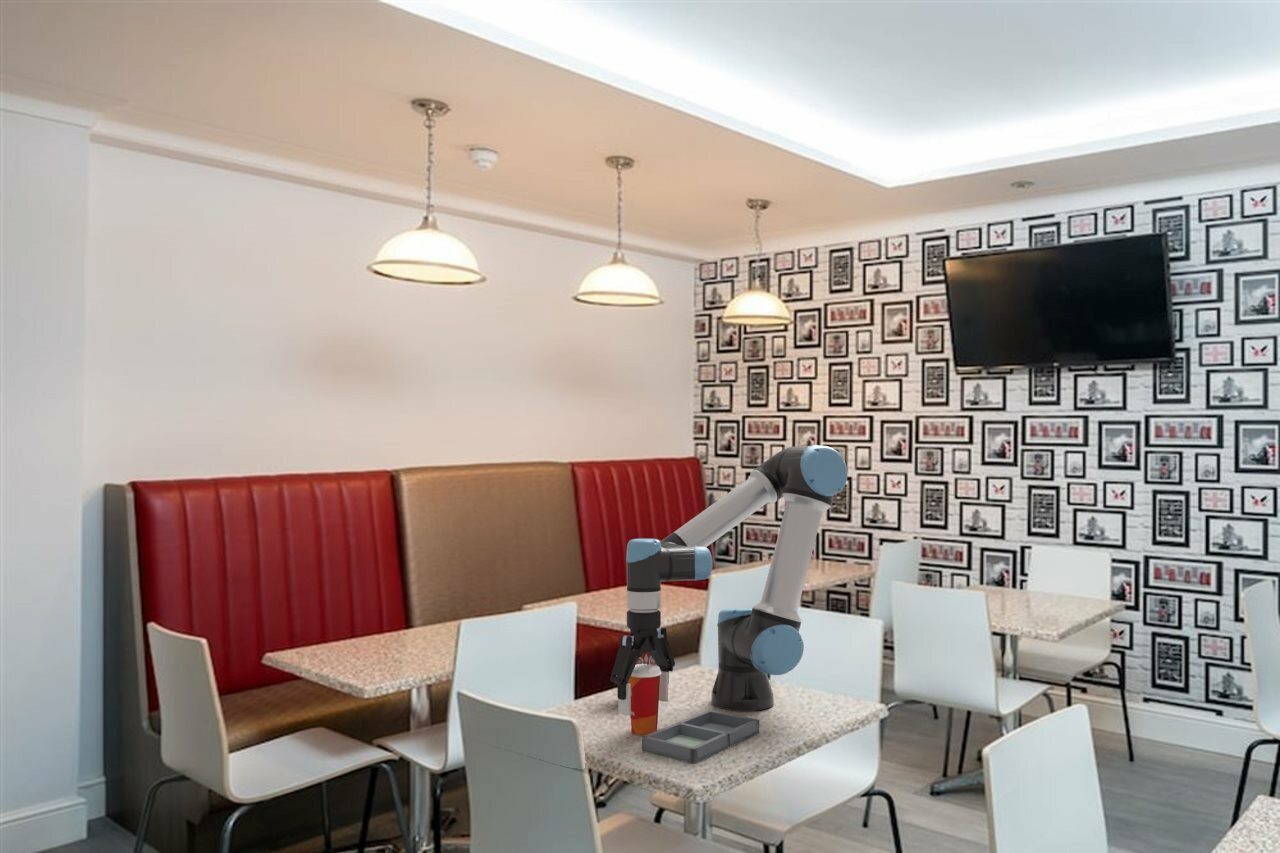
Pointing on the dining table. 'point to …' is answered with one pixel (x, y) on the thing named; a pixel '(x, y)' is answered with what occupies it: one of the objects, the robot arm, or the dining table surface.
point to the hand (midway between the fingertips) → (643, 707)
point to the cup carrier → (700, 736)
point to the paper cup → (644, 698)
